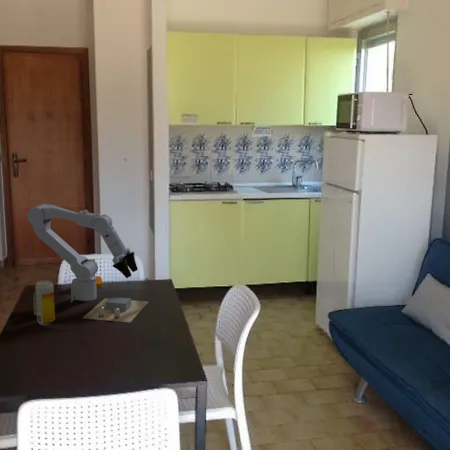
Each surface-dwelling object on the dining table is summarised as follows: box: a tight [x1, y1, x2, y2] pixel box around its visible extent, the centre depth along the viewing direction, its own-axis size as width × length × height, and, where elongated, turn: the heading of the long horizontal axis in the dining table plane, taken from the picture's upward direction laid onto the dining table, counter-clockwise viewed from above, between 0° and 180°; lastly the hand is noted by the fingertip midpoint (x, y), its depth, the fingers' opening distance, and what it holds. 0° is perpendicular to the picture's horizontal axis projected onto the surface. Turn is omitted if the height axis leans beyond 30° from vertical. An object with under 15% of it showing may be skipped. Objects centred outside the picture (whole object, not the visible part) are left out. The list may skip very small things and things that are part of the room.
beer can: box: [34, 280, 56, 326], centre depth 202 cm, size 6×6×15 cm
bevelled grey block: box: [106, 296, 132, 311], centre depth 216 cm, size 8×6×3 cm
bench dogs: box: [98, 306, 120, 319], centre depth 206 cm, size 8×2×4 cm, turn 80°
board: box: [82, 297, 149, 323], centre depth 214 cm, size 18×22×1 cm
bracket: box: [88, 258, 104, 289], centre depth 244 cm, size 11×7×12 cm, turn 17°
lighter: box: [32, 291, 37, 316], centre depth 211 cm, size 7×4×10 cm, turn 96°
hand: (132, 273), depth 222 cm, fingers open, 7 cm apart
